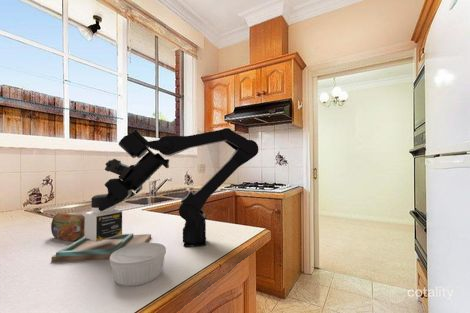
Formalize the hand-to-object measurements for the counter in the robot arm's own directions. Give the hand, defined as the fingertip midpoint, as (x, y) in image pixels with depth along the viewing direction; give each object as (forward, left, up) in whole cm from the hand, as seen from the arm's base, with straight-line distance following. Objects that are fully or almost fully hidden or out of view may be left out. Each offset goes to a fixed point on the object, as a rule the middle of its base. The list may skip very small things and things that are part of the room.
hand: (104, 208), depth 64 cm
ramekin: (-15, +17, -12) cm, 26 cm away
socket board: (-1, -1, -12) cm, 12 cm away
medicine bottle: (0, 0, -8) cm, 8 cm away
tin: (+16, -12, -12) cm, 23 cm away
